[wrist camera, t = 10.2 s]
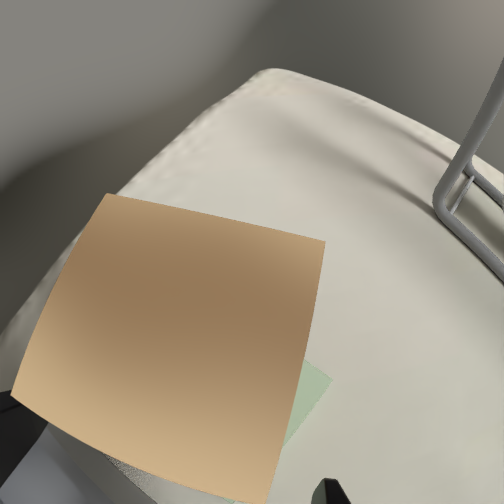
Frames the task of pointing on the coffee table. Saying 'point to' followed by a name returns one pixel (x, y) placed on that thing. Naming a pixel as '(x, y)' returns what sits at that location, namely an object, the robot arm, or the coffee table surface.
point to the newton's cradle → (473, 175)
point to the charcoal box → (68, 475)
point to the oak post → (176, 344)
